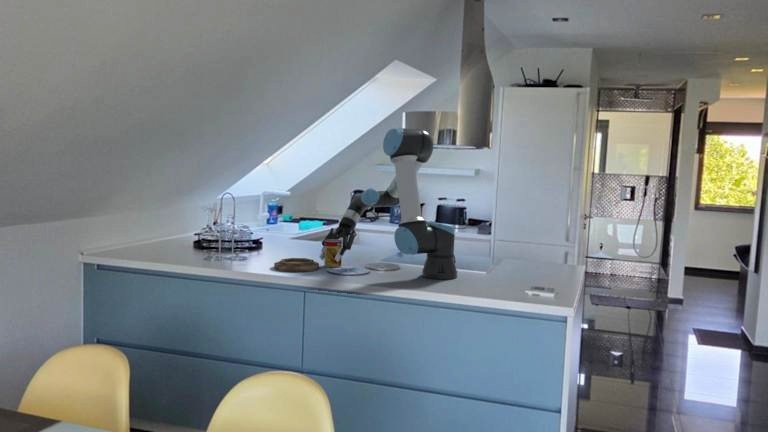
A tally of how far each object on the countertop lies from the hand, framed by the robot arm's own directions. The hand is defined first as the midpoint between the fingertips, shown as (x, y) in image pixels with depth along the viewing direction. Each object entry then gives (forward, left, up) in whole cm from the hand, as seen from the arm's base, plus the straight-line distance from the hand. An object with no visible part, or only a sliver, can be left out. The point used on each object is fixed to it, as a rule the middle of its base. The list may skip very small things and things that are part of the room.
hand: (328, 259), depth 286 cm
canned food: (+1, -3, -4) cm, 5 cm away
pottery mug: (-22, -56, -4) cm, 60 cm away
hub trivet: (+7, +13, -4) cm, 15 cm away
